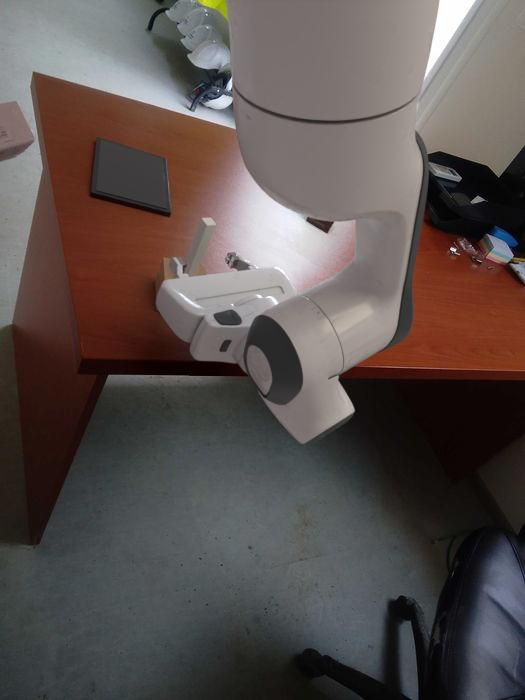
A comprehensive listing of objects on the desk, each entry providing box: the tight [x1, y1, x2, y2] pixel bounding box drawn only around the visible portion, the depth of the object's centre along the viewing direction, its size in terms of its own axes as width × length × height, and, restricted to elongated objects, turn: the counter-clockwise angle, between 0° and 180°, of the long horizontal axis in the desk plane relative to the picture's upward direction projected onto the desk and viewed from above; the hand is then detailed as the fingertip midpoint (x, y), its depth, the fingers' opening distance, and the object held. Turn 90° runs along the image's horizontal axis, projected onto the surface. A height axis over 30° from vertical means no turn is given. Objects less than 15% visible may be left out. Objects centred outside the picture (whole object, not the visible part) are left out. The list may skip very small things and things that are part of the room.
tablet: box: [89, 136, 172, 218], centre depth 87 cm, size 20×14×1 cm
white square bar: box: [184, 217, 217, 277], centre depth 66 cm, size 2×2×15 cm
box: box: [306, 216, 335, 234], centre depth 106 cm, size 6×6×7 cm
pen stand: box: [154, 256, 208, 313], centre depth 69 cm, size 7×7×5 cm
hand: (203, 257), depth 64 cm, fingers open, 8 cm apart
